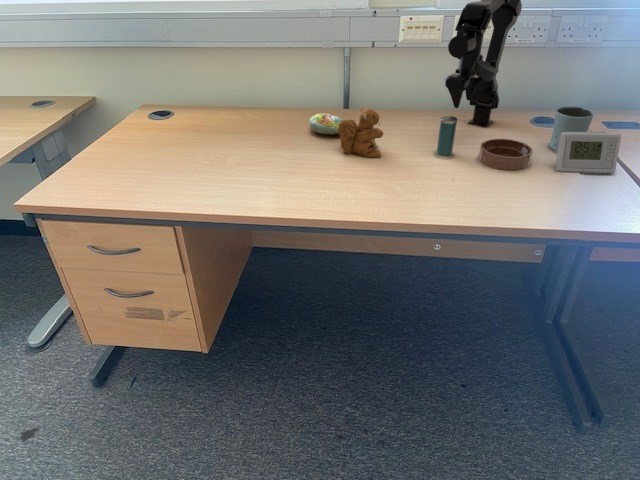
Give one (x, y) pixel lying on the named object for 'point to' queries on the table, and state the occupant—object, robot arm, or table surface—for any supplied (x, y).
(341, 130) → the stuffed squirrel
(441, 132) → the tin
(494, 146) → the bowl
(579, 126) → the grey-green cup
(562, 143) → the digital clock
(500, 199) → the table surface
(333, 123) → the decorated easter egg
